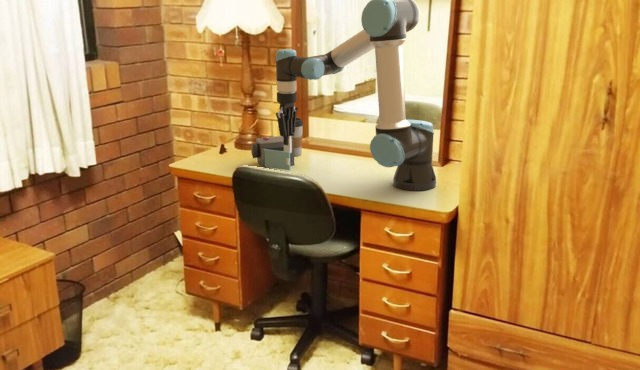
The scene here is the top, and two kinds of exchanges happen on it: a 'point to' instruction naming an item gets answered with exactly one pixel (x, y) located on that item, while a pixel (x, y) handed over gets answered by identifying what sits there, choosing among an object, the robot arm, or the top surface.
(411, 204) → the top surface
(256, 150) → the camera body
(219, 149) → the top surface
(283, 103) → the robot arm
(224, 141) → the top surface
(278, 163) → the side door
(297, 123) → the coffee cup
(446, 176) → the top surface
